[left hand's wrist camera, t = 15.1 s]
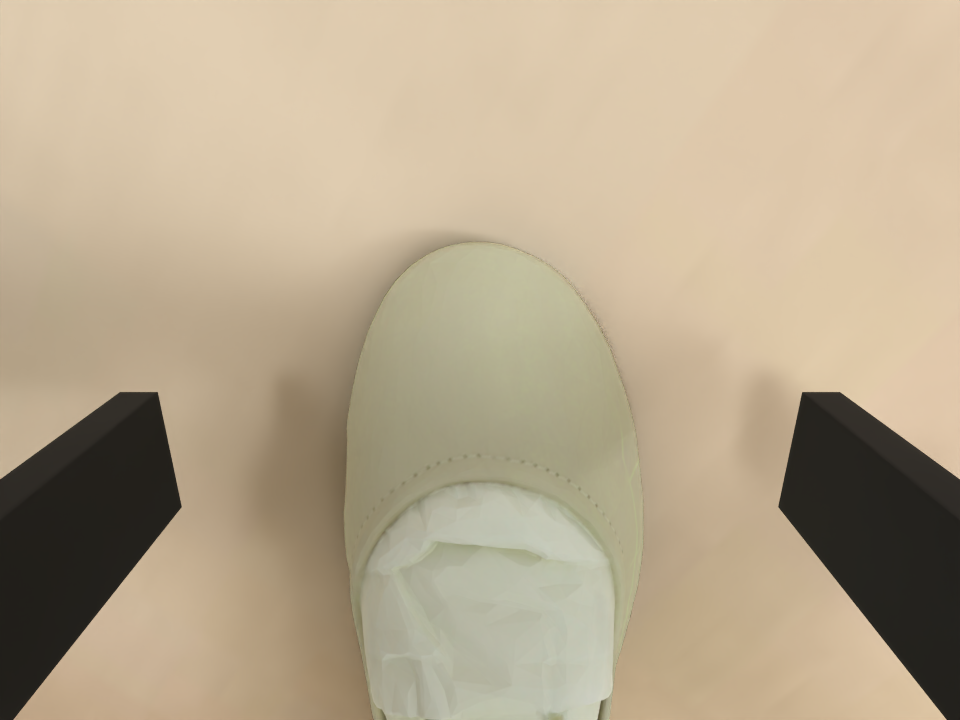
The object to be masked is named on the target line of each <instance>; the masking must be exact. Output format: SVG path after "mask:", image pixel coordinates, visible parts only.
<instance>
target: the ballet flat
mask: <svg viewBox="0 0 960 720" xmlns="http://www.w3.org/2000/svg"><path fill="white" fill-rule="evenodd" d="M344 537H345V549H346V559H347V563H348V567H349V571H350V581H349V582H350V600H351V606H352V612H353V619H354V623H355V628H356V632H357V637H358V641H359V646H360V650H361V655H362V660H363V665H364V670H365V676H366V681H367V687H368V694H369V700H370V705H371V710H372V716H373V720H610V711H611V702H612V694H613V685H614V677H615V669H616V664H617V661H618V658H619V655H620V651H621V648H622V645H623V641H624V637H625V633H626V630H627V626H628V623H629V619H630V616H631V612H632V607H633V603H634V599H635V595H636V591H637V587H638V582H639V575H640V569H641V562H642V553H643V539H644V508H643V493H642V483H641V474H640V464H639V455H638V446H637V437H636V431H635V427H634V422H633V418H632V414H631V410H630V406H629V403H628V400H627V396H626V393H625V389H624V386H623V384H622V381H621V378H620V375H619V372H618V370H617V367H616V364H615V361H614V358H613V356H612V353H611V350H610V347H609V345H608V343H607V341H606V339H605V337H604V335H603V333H602V331H601V329H600V327H599V326H598V324H597V322H596V321H595V319H594V317H593V316H592V314H591V313H590V311H589V310H588V308H587V307H586V305H585V303H584V302H583V301H582V299H581V298H580V296H579V295H578V294H577V292H576V291H575V289H574V288H573V287H572V286H571V285H570V284H569V282H568V281H567V280H566V279H565V278H564V277H563V276H562V275H561V274H560V273H558V272H557V271H556V270H555V269H553V268H552V267H551V266H550V265H548V264H546V263H545V262H543V261H541V260H540V259H538V258H536V257H534V256H532V255H530V254H527V253H525V252H522V251H520V250H518V249H515V248H512V247H509V246H505V245H502V244H496V243H490V242H466V243H461V244H455V245H450V246H447V247H443V248H440V249H438V250H436V251H434V252H432V253H430V254H427V255H426V256H424V257H423V258H421V259H420V260H418V261H417V262H415V263H414V264H412V265H411V266H410V267H409V268H408V269H407V270H406V271H405V272H404V273H403V274H402V275H401V276H400V277H399V278H398V279H397V280H396V281H395V282H394V284H393V285H392V287H391V288H390V289H389V291H388V292H387V294H386V295H385V297H384V299H383V301H382V303H381V305H380V307H379V309H378V311H377V313H376V315H375V317H374V319H373V321H372V323H371V326H370V328H369V330H368V333H367V335H366V339H365V342H364V345H363V349H362V352H361V355H360V358H359V362H358V365H357V370H356V374H355V379H354V384H353V388H352V394H351V400H350V406H349V412H348V418H347V466H346V489H345V504H344Z"/></svg>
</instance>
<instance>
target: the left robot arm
mask: <svg viewBox="0 0 960 720" xmlns="http://www.w3.org/2000/svg"><path fill="white" fill-rule="evenodd" d="M181 507H182V506H181V501H180V497H179V492H178V487H177V482H176V477H175V473H174V468H173V463H172V458H171V454H170V449H169V444H168V439H167V434H166V430H165V425H164V420H163V415H162V411H161V406H160V401H159V396H158V392H120V393H118V394H117V395H116V396H114V397H113V398H111V399H110V400H109V401H107V402H106V403H105V404H103V405H102V406H100V407H99V408H98V409H96V410H95V411H94V412H92V413H91V414H89V415H88V416H87V417H85V418H84V419H83V420H81V421H80V422H78V423H77V424H76V425H74V426H73V427H72V428H70V429H69V430H68V431H66V432H65V433H63V434H62V435H61V436H59V437H58V438H57V439H55V440H54V441H52V442H51V443H50V444H48V445H47V446H46V447H44V448H43V449H41V450H40V451H39V452H37V453H36V454H35V455H33V456H32V457H30V458H29V459H28V460H26V461H25V462H24V463H22V464H21V465H19V466H18V467H17V468H15V469H14V470H13V471H11V472H10V473H8V474H7V475H6V476H4V477H3V478H2V479H0V720H13V719H14V718H15V717H16V716H17V714H18V713H19V712H20V710H21V709H22V708H23V707H24V705H25V704H26V703H27V702H28V700H29V699H30V698H31V697H32V695H33V694H34V693H35V692H36V690H37V689H38V688H39V686H40V685H41V684H42V683H43V681H44V680H45V679H46V678H47V676H48V675H49V674H50V673H51V671H52V670H53V669H54V668H55V666H56V665H57V664H58V662H59V661H60V660H61V659H62V657H63V656H64V655H65V654H66V652H67V651H68V650H69V649H70V647H71V646H72V645H73V644H74V642H75V641H76V640H77V638H78V637H79V636H80V635H81V633H82V632H83V631H84V630H85V628H86V627H87V626H88V625H89V623H90V622H91V621H92V620H93V618H94V617H95V616H96V614H97V613H98V612H99V611H100V609H101V608H102V607H103V606H104V604H105V603H106V602H107V601H108V599H109V598H110V597H111V596H112V594H113V593H114V592H115V590H116V589H117V588H118V587H119V585H120V584H121V583H122V582H123V580H124V579H125V578H126V577H127V575H128V574H129V573H130V572H131V570H132V569H133V568H134V567H135V565H136V564H137V563H138V561H139V560H140V559H141V558H142V556H143V555H144V554H145V553H146V551H147V550H148V549H149V548H150V546H151V545H152V544H153V543H154V541H155V540H156V539H157V537H158V536H159V535H160V534H161V532H162V531H163V530H164V529H165V527H166V526H167V525H168V524H169V522H170V521H171V520H172V519H173V517H174V516H175V515H176V513H177V512H178V511H179V510H180V508H181ZM778 507H779V508H780V510H781V511H782V512H783V513H784V515H785V516H786V517H787V519H788V520H789V521H790V522H791V524H792V525H793V526H794V527H795V529H796V530H797V531H798V532H799V534H800V535H801V536H802V537H803V539H804V540H805V541H806V543H807V544H808V545H809V546H810V548H811V549H812V550H813V551H814V553H815V554H816V555H817V556H818V558H819V559H820V560H821V561H822V563H823V564H824V565H825V567H826V568H827V569H828V570H829V572H830V573H831V574H832V575H833V577H834V578H835V579H836V580H837V582H838V583H839V584H840V585H841V587H842V588H843V589H844V591H845V592H846V593H847V594H848V596H849V597H850V598H851V599H852V601H853V602H854V603H855V604H856V606H857V607H858V608H859V609H860V611H861V612H862V613H863V614H864V616H865V617H866V618H867V620H868V621H869V622H870V623H871V625H872V626H873V627H874V628H875V630H876V631H877V632H878V633H879V635H880V636H881V637H882V638H883V640H884V641H885V642H886V644H887V645H888V646H889V647H890V649H891V650H892V651H893V652H894V654H895V655H896V656H897V657H898V659H899V660H900V661H901V662H902V664H903V665H904V666H905V668H906V669H907V670H908V671H909V673H910V674H911V675H912V676H913V678H914V679H915V680H916V681H917V683H918V684H919V685H920V686H921V688H922V689H923V690H924V692H925V693H926V694H927V695H928V697H929V698H930V699H931V700H932V702H933V703H934V704H935V705H936V707H937V708H938V709H939V710H940V712H941V713H942V714H943V716H944V717H945V718H946V719H947V720H960V479H958V478H957V477H956V476H954V475H953V474H952V473H950V472H949V471H947V470H946V469H945V468H943V467H942V466H941V465H939V464H938V463H936V462H935V461H934V460H932V459H931V458H930V457H928V456H927V455H925V454H924V453H923V452H921V451H920V450H919V449H917V448H916V447H914V446H913V445H912V444H910V443H909V442H908V441H906V440H905V439H903V438H902V437H901V436H899V435H898V434H897V433H895V432H894V431H892V430H891V429H890V428H888V427H887V426H886V425H884V424H883V423H882V422H880V421H879V420H877V419H876V418H875V417H873V416H872V415H871V414H869V413H868V412H866V411H865V410H864V409H862V408H861V407H860V406H858V405H857V404H855V403H854V402H853V401H851V400H850V399H849V398H847V397H846V396H844V395H843V394H842V393H840V392H802V396H801V401H800V406H799V411H798V415H797V420H796V425H795V430H794V434H793V439H792V444H791V449H790V454H789V458H788V463H787V468H786V473H785V477H784V482H783V487H782V492H781V497H780V501H779V506H778Z"/></svg>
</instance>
